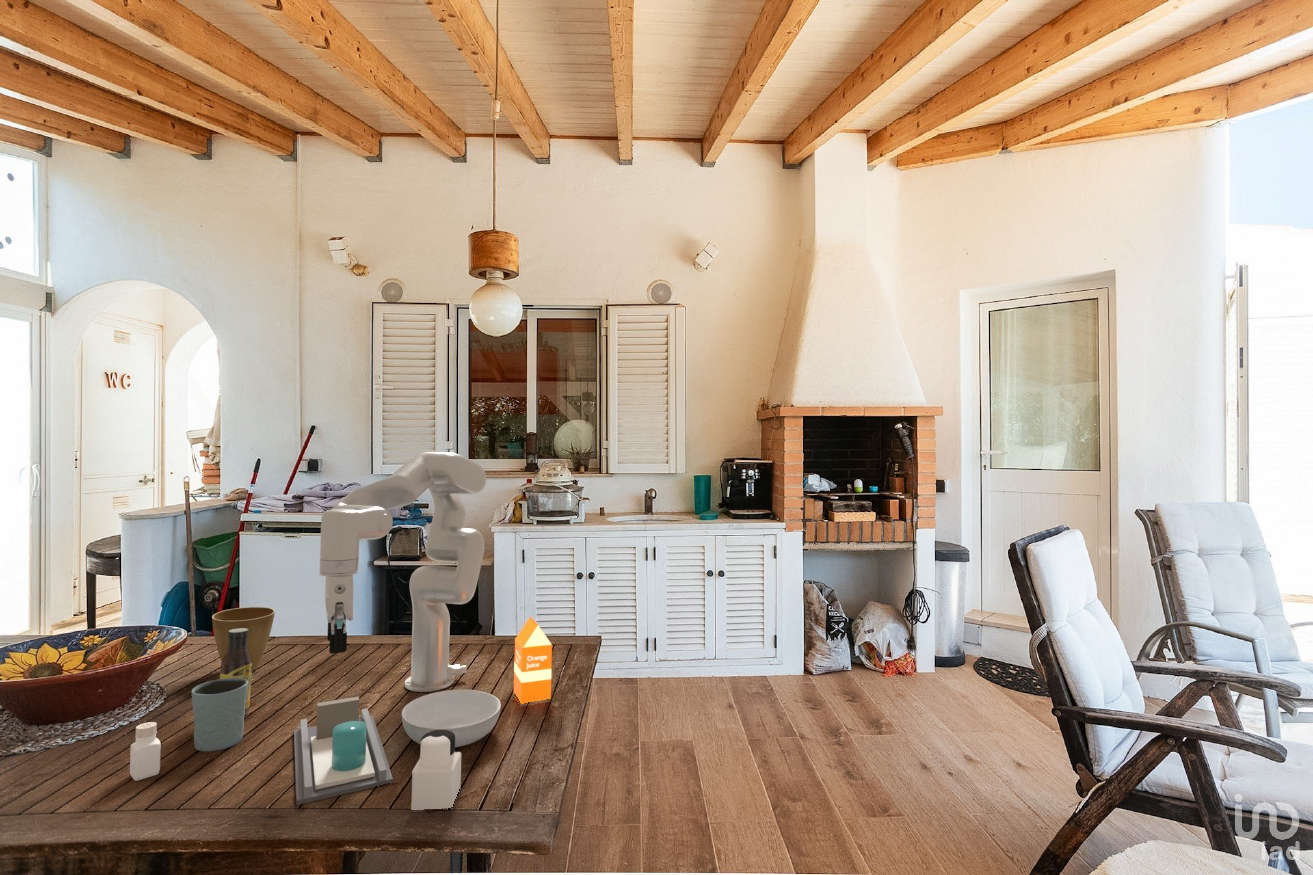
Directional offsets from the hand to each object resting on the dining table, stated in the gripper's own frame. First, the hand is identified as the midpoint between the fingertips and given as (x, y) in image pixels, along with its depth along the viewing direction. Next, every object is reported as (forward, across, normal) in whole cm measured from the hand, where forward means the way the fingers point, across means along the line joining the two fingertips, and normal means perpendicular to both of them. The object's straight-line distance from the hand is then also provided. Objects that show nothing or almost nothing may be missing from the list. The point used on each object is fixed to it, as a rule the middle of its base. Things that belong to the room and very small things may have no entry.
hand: (336, 645), depth 138 cm
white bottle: (+21, -33, -15) cm, 42 cm away
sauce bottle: (+21, +25, +20) cm, 38 cm away
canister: (+19, -16, -2) cm, 25 cm away
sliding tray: (+21, -10, -1) cm, 23 cm away
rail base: (+21, -8, -1) cm, 22 cm away
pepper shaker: (+21, +1, +32) cm, 38 cm away
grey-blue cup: (+21, +11, +22) cm, 32 cm away
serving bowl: (+21, -9, -23) cm, 32 cm away
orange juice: (+21, +4, -46) cm, 50 cm away
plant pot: (+21, +59, +20) cm, 66 cm away
